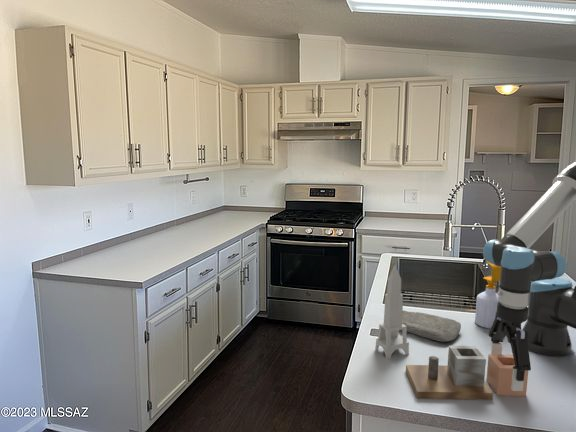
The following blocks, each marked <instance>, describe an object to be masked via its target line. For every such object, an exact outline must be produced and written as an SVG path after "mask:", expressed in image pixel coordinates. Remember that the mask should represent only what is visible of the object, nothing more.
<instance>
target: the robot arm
mask: <svg viewBox="0 0 576 432" xmlns="http://www.w3.org/2000/svg"><path fill="white" fill-rule="evenodd" d="M575 200H576V161H574V162H572V163H571V164H569V165H568V166H566V167H565V168H564V169H562V170H561V171H560V172H559V173H558V174H557V175H556V176H555V177H554V178H553V179H552V185H551V186H550V187H549V189H547V191H546V192H545V193H543V195H542V196H541V197H540V198H539V199H538V200H537V201H536V202H535V203H534V204H533V205H532V206H531V207H530V208H529V210H528V211H526V213H525V214H524V215H523V216H522V217H521V218H520V219H519V220H518V221H517V222H516V223H515V224H514V225H513V226H512V227H511V228H510V229H509V231H507V233H506V234H505V235H504V236H503V237H502V238H501V239H500V240H499V239H491V240H488V241H487V242H486V243H485V245H484V247H483V250H482V256H483V258H484V260H485V262H486V261H487V262H489V263H492V264H494V265H496V266H500V267H501V273H500V281H499V285H498V286H499V287H498V291H497V292H496V293H497V295H498V301H499V302H498V303H497V312H496V316H495V320H494V322H493V325H492V327H491V328H490V329H489V332H488V338H490V341H491V349H490V354H491V355H503V354H502V353H503V343H504V339H505V338H506V337H507V342H508V343H509V344H510V347H511V352H512V355H513V358H514V362H515V366H513V374H512V384H511V390H512V391H523V384H524V375H525V370H527V371H528V372H530V371H531V370H532V366H531V365H532V364H531V359H530V351H532V352H534V353H536V354H537V353H538V354H541V355H545V356H550V357H563V356H568V355H570V354H571V352H572V345H573V344H572V341H571V336H570V333H569V328H568V327H570V328H572V329H575V330H576V283H575V285H573V283H572V281H571V280H569V279H564V278H561V277H562V276H563V275H564V274H565V273H566V271H567V268H568V267H567V261H566V258H565V257H564V255H562V254H561V253H559V252H558V251H555V250H551V251H550V250H546V251H540V250H537V249H532V248H531V247H532V246H533V245H534V243H536V242H537V240H539V239H540V237H542V235H543V234H544V233H545V231H547V229H549V227H551V225H553V223H554V222H555V221H556V220H557V219H558V218H559V217H560V216H561V215H562V214H563V213H564V211H566V210H567V208H569V206H571V204H572V203H573V202H574V201H575ZM487 262H486V263H487ZM573 286H574V288H573ZM522 323H523V324H524V325H523V327H522Z"/></svg>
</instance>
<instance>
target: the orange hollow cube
mask: <svg viewBox="0 0 576 432" xmlns="http://www.w3.org/2000/svg"><path fill="white" fill-rule="evenodd" d="M513 366H515V362H514V358H513V354H502V355H491V353H490V354H488V355H487V368H486V382H487V383H488V384H489V386H490V387H491V388H492V391H494V393H496V396H510V397H511V396H516V397H517V396H519V397H524V396H525V397H526V396H527V391H528V389H527V388H528V380H529V379H528V378H529V371H527V370H525V375H524V384H523V391H512V390H511V384H512V374H513Z"/></svg>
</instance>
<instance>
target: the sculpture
mask: <svg viewBox="0 0 576 432" xmlns="http://www.w3.org/2000/svg"><path fill="white" fill-rule="evenodd" d="M384 297H385V298H384V310H383V311H384V312H383V314H384V315H383V323H379V324H378V338H376V340H375V341H376V342H375V351H377V350H378V349H379V347H381V348H382V349H383V351H384V354H385V356H384V357H385V359H387V360H388V359H391V358H392V354H393V352H394V351H395V350H396V351H397V350H398V349H400V350H403V353H404V355H405V356H407V355H410V343H409V341H408V340H407V337H408V336H407V333H408V332H407V329H406V326H405V325H404V324H402V314H403V311H404V310H403V306H404V304H403V303H404V302H403V301H404V295H403V294H402V278H401V276H400V272H399V270H398V267H397V264H394V265H393V268H392V270H391V272H390V274H389V276H388V278H387V293H385V294H384ZM400 330H401V332H402V336H400V335H399V331H400Z"/></svg>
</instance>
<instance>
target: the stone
mask: <svg viewBox="0 0 576 432" xmlns="http://www.w3.org/2000/svg"><path fill="white" fill-rule="evenodd" d="M402 324H404V325H405V326H406V329H407V333H410V334H412V335H416V336H419V337H423V338H425V339H430V340H433V341H437V342H442V343H445V342H446V343H447V342H451V341H453V340H455V339H456V338H457V337H458V336H459V335H458V334H459V333H460V332H461V329H462V326H461V325H462V324H461V323H460V322H458V321H457V320H455V319H452V318H451V319H450V318H447V317H442V316H438V315H434V314H430V313H424V312H418V311H407V310H403V314H402Z"/></svg>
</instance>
